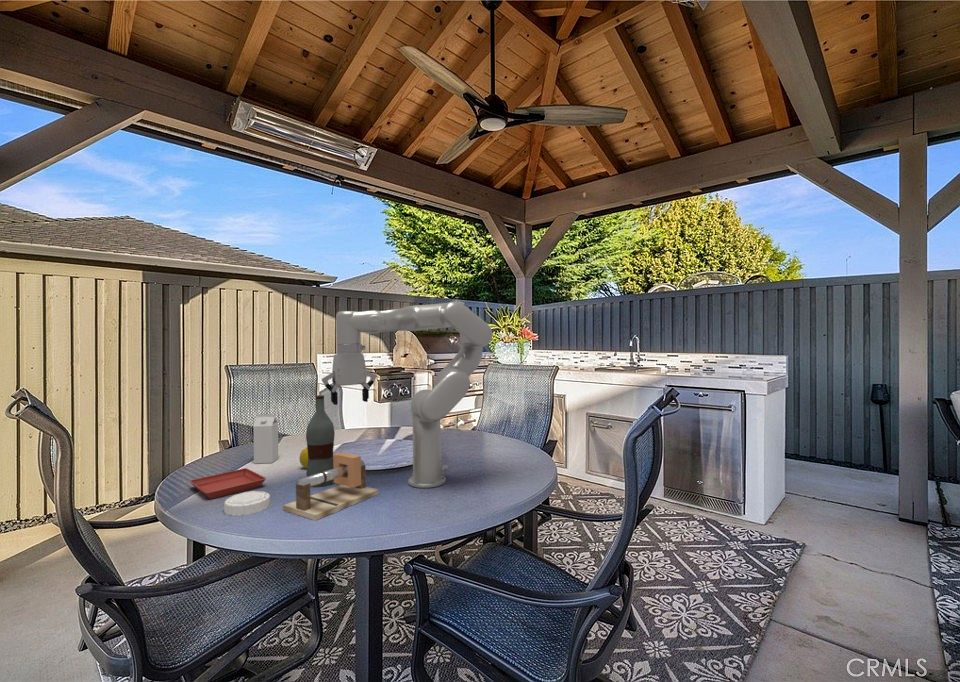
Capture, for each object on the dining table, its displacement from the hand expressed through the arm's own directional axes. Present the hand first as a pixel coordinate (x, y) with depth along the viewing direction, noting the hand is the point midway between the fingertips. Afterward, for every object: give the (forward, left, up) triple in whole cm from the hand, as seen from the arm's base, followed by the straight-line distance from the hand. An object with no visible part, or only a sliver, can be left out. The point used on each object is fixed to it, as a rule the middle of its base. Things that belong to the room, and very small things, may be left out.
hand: (350, 402), depth 145 cm
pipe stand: (+9, +2, -29) cm, 30 cm away
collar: (+4, +2, -25) cm, 25 cm away
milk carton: (-8, -58, -29) cm, 65 cm away
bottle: (-1, -16, -29) cm, 33 cm away
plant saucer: (+18, -39, -29) cm, 52 cm away
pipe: (+9, +2, -22) cm, 24 cm away
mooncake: (+25, -16, -29) cm, 42 cm away
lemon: (-10, -35, -29) cm, 46 cm away
